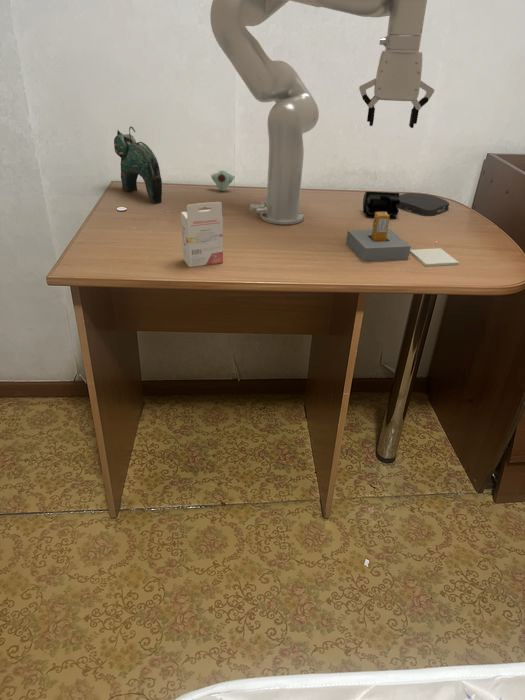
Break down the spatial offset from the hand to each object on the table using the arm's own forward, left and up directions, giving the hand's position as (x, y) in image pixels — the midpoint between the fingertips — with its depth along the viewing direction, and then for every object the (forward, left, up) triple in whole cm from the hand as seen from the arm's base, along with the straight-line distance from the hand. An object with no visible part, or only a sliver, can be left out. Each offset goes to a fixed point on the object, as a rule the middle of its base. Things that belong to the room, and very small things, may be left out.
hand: (390, 126), depth 126 cm
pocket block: (-3, -9, -28) cm, 30 cm away
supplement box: (-3, -9, -29) cm, 30 cm away
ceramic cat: (-60, +42, -29) cm, 79 cm away
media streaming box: (+27, +24, -29) cm, 46 cm away
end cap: (+10, +18, -29) cm, 35 cm away
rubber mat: (+10, -15, -28) cm, 34 cm away
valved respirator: (-34, +45, -29) cm, 63 cm away
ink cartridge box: (-48, -10, -29) cm, 57 cm away
